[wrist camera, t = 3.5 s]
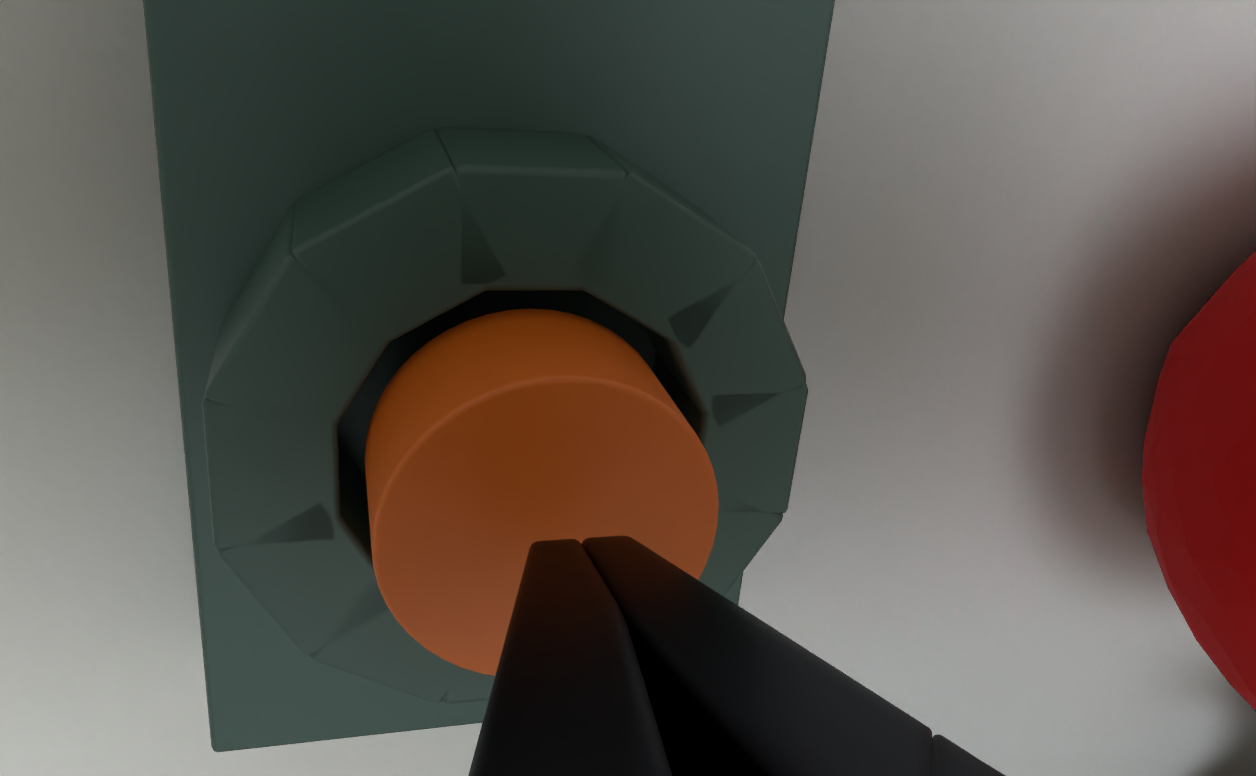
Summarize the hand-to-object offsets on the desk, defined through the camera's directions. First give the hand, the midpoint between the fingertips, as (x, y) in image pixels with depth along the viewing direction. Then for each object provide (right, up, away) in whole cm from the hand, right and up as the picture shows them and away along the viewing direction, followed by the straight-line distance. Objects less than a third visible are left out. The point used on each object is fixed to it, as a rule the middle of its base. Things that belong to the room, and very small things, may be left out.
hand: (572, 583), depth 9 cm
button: (-1, +1, +2) cm, 2 cm away
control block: (-2, +2, +5) cm, 6 cm away
